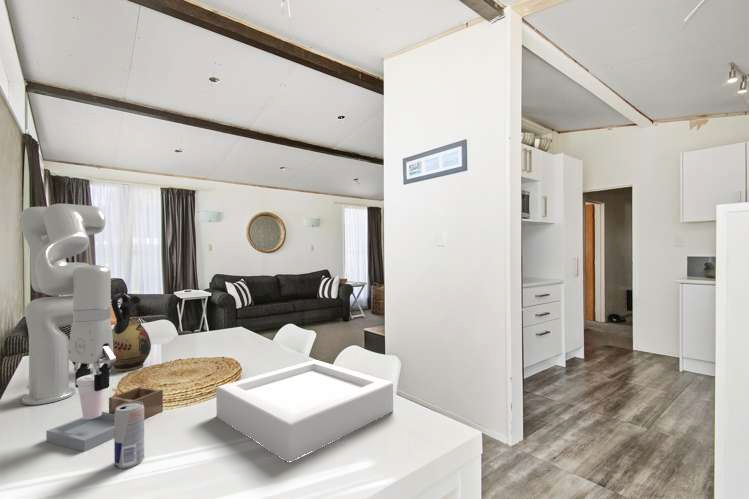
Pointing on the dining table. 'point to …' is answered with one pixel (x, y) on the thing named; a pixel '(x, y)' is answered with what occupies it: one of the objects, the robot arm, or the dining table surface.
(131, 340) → the ceramic jug
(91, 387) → the smoothie
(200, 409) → the dining table surface
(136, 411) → the energy drink
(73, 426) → the slate tray
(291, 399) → the tray
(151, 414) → the deep holder
